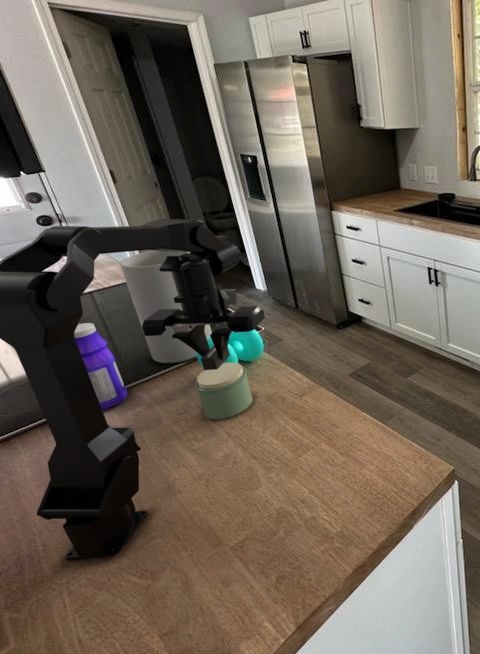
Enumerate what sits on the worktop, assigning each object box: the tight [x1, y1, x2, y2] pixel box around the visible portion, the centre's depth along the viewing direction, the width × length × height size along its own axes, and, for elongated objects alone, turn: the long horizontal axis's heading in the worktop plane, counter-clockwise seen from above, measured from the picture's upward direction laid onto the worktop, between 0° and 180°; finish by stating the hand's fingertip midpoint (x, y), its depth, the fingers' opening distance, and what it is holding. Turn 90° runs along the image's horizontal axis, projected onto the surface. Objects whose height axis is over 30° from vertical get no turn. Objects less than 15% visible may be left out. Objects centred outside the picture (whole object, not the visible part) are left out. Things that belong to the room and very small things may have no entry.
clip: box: [201, 346, 230, 371], centre depth 81 cm, size 5×2×3 cm, turn 8°
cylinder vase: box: [119, 250, 213, 364], centre depth 99 cm, size 12×12×25 cm
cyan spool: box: [196, 328, 264, 368], centre depth 96 cm, size 10×10×10 cm
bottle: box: [74, 322, 128, 410], centre depth 82 cm, size 7×6×17 cm
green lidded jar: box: [194, 362, 254, 420], centre depth 84 cm, size 9×9×8 cm
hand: (216, 358), depth 81 cm, fingers closed on clip, 2 cm apart
